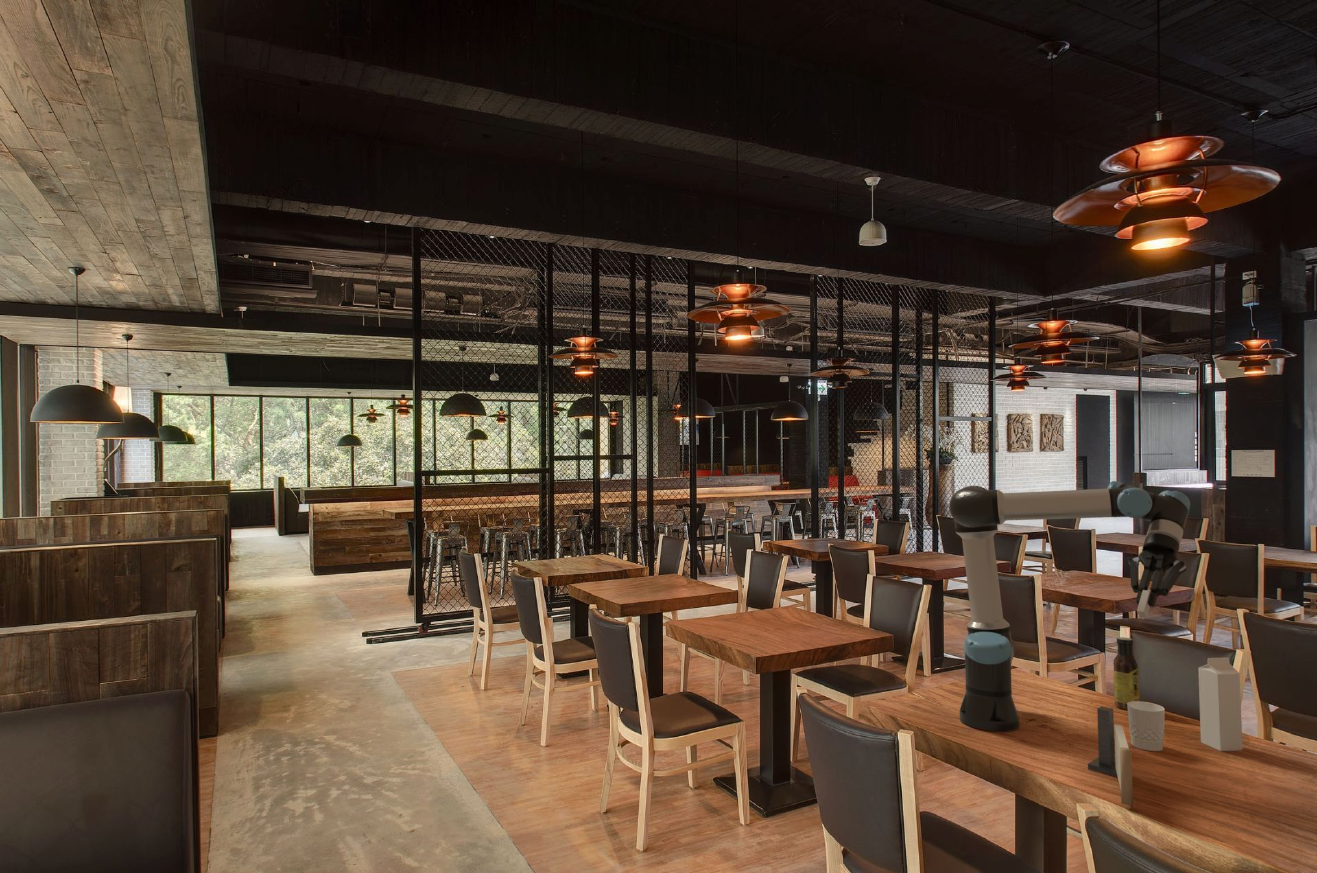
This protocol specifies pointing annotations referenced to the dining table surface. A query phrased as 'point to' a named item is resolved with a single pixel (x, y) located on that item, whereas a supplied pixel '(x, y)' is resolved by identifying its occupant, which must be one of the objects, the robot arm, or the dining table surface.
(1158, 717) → the white cup
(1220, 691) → the milk
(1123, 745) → the gate panel
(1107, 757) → the gate post
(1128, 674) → the sauce bottle
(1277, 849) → the dining table surface
